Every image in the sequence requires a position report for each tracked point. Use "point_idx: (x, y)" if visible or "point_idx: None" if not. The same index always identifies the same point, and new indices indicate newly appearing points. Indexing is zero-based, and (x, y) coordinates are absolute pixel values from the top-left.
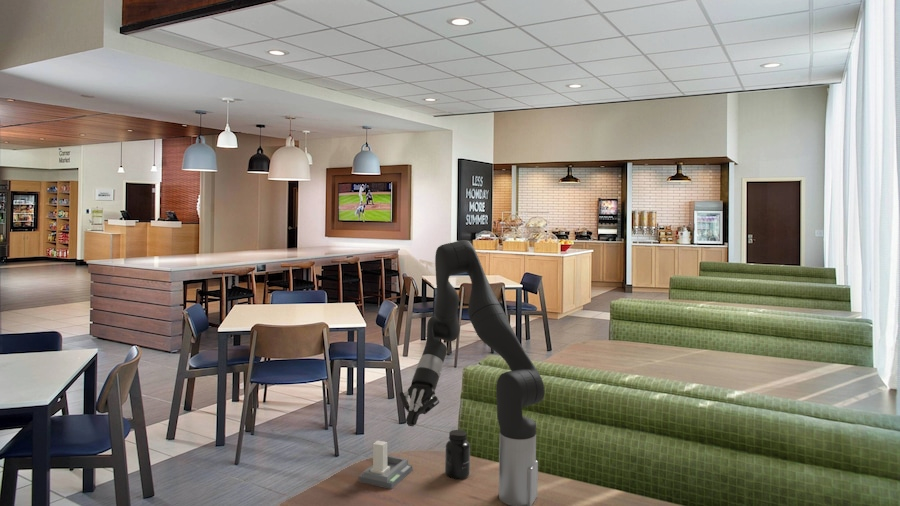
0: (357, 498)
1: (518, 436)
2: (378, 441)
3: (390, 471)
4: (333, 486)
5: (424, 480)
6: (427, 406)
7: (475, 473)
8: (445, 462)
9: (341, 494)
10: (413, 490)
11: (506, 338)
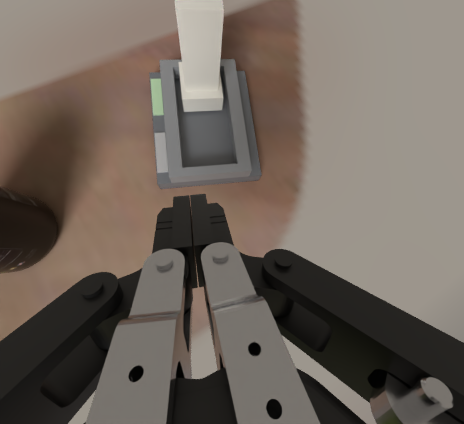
0: None
1: None
2: (213, 2)
3: (170, 89)
4: (274, 45)
5: (98, 156)
6: (12, 335)
7: None
8: (21, 200)
9: (236, 25)
10: (98, 100)
11: None
